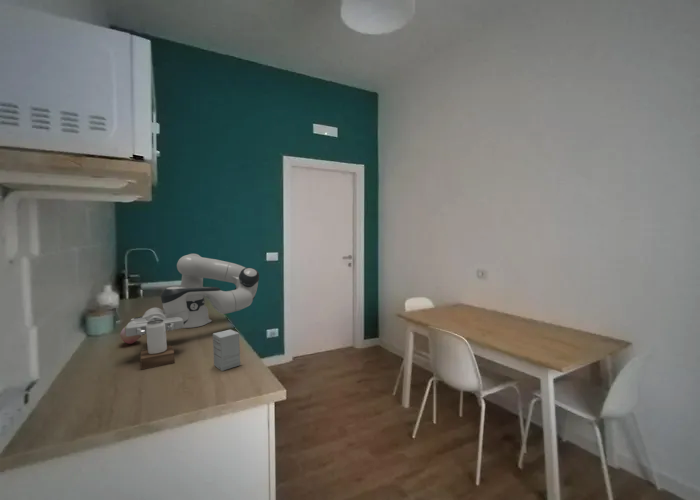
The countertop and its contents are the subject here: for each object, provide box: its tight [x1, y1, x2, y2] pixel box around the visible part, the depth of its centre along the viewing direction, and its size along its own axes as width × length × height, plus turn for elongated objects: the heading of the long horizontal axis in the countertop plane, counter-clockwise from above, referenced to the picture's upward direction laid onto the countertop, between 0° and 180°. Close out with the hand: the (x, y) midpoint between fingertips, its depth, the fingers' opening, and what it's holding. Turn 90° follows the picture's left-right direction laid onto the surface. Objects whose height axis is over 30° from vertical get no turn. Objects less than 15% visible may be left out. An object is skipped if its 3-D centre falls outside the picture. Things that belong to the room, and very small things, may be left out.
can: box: [146, 320, 168, 354], centre depth 130 cm, size 6×6×12 cm
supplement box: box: [212, 329, 241, 372], centre depth 125 cm, size 7×7×13 cm
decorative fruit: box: [119, 325, 142, 345], centre depth 151 cm, size 9×8×10 cm
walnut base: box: [140, 344, 176, 370], centre depth 130 cm, size 11×11×4 cm
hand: (156, 331), depth 129 cm, fingers open, 8 cm apart
